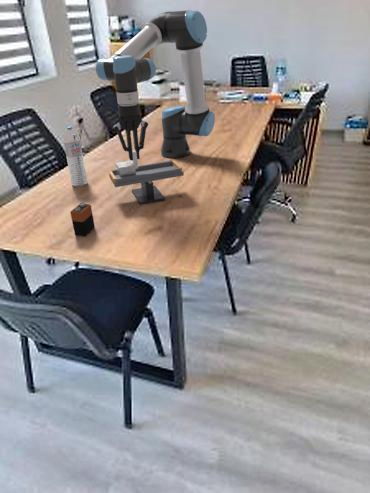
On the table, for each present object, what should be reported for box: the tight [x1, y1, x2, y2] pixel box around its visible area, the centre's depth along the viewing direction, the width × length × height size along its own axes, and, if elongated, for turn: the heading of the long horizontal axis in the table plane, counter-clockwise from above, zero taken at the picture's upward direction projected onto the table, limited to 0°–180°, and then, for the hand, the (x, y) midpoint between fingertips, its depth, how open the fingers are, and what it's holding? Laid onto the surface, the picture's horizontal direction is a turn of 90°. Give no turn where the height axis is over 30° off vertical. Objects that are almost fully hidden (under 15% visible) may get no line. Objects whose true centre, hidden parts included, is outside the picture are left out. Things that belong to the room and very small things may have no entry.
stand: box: [131, 181, 166, 206], centre depth 160 cm, size 10×14×7 cm
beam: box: [108, 160, 185, 188], centre depth 157 cm, size 27×12×4 cm, turn 110°
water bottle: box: [62, 126, 88, 188], centre depth 170 cm, size 7×7×25 cm
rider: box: [115, 160, 136, 178], centre depth 154 cm, size 6×6×5 cm
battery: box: [70, 201, 95, 237], centre depth 136 cm, size 4×7×10 cm, turn 163°
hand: (135, 167), depth 154 cm, fingers closed
